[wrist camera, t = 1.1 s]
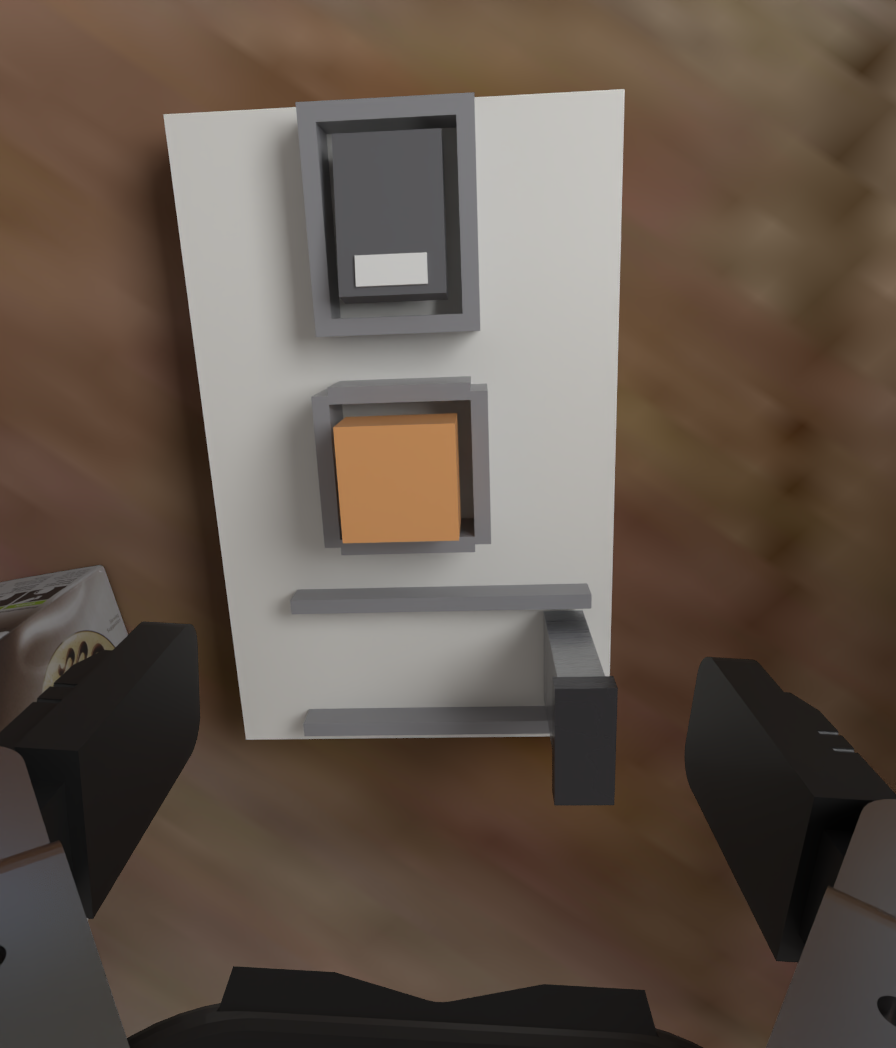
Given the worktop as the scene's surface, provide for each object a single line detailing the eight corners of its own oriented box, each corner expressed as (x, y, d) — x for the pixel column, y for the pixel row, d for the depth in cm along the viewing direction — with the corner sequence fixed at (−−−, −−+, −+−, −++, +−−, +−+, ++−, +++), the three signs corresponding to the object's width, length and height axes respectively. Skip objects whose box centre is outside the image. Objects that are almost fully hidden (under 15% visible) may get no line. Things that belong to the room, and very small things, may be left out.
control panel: (609, 111, 28) (639, 65, 23) (597, 700, 35) (618, 770, 30) (195, 133, 29) (131, 94, 23) (264, 704, 36) (227, 773, 30)
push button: (457, 413, 26) (455, 423, 24) (460, 520, 27) (459, 540, 25) (345, 416, 26) (332, 427, 24) (354, 523, 28) (342, 543, 25)
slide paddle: (587, 605, 30) (617, 688, 24) (586, 701, 31) (613, 804, 25) (538, 606, 30) (554, 689, 24) (539, 702, 31) (554, 805, 25)
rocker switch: (443, 143, 25) (441, 126, 24) (447, 299, 26) (445, 292, 24) (338, 148, 25) (330, 132, 24) (345, 303, 26) (338, 296, 25)
